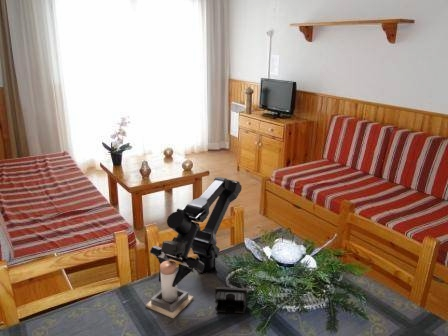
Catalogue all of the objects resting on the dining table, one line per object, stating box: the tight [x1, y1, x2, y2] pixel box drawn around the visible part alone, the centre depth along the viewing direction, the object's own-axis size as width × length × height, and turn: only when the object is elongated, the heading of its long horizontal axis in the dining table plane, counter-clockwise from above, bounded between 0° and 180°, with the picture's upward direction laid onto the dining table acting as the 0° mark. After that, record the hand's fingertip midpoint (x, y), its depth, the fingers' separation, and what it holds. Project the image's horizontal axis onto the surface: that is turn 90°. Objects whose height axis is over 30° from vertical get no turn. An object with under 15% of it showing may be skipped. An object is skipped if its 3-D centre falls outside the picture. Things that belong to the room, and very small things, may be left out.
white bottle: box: [159, 260, 178, 304], centre depth 122 cm, size 5×5×13 cm
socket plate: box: [145, 287, 194, 319], centre depth 124 cm, size 11×11×3 cm
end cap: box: [214, 286, 248, 317], centre depth 121 cm, size 10×7×7 cm
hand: (166, 284), depth 120 cm, fingers closed on white bottle, 5 cm apart
